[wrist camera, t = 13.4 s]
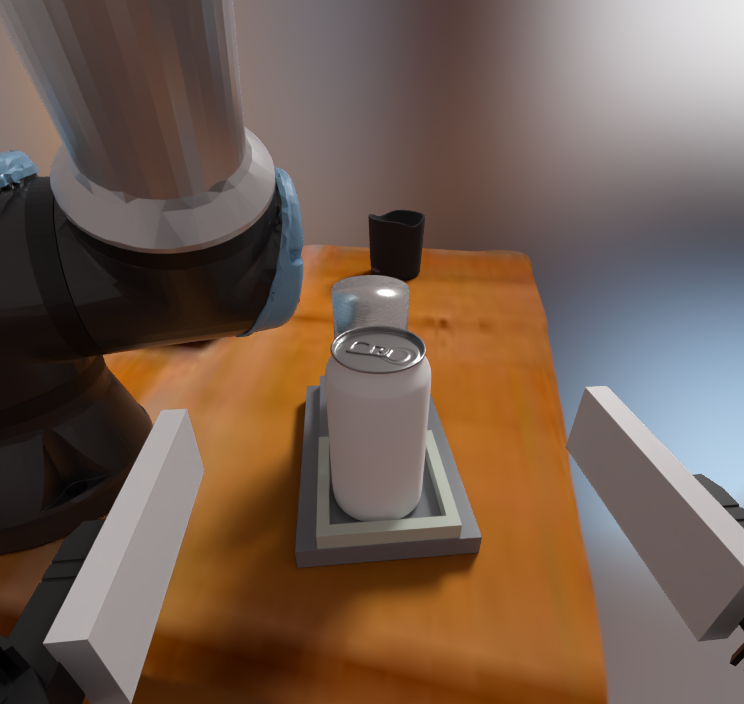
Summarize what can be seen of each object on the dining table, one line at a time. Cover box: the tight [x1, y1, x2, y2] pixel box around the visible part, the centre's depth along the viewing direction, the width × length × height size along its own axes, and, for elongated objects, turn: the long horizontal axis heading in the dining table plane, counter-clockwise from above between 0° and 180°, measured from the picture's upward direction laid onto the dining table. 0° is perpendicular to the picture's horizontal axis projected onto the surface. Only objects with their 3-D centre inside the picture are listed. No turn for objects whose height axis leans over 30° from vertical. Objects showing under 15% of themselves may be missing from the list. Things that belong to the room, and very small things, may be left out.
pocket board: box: [295, 376, 482, 568], centre depth 35 cm, size 12×18×3 cm, turn 5°
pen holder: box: [369, 210, 425, 281], centre depth 74 cm, size 9×9×10 cm
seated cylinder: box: [332, 275, 409, 340], centre depth 36 cm, size 6×6×12 cm
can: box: [325, 325, 431, 522], centre depth 28 cm, size 6×6×12 cm
